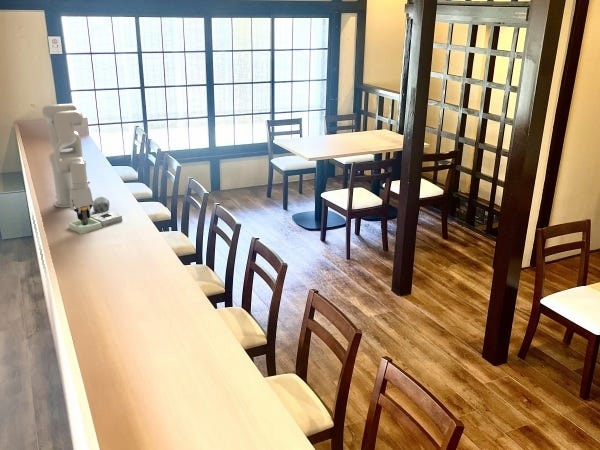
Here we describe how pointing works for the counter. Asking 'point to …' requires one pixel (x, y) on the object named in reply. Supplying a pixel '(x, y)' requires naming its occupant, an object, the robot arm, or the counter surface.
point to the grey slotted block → (107, 217)
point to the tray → (82, 229)
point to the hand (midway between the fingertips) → (84, 218)
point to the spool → (101, 205)
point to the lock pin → (84, 216)
